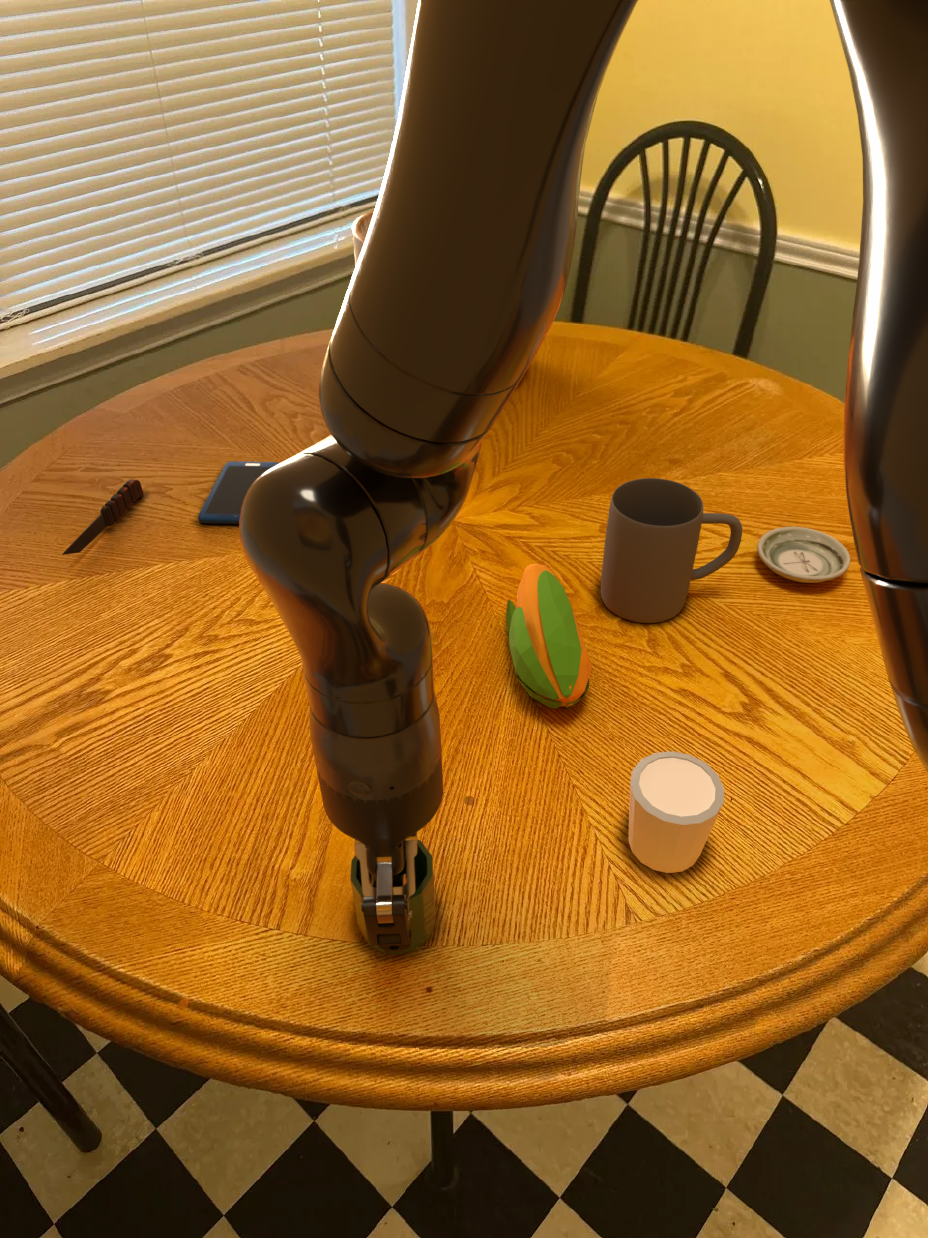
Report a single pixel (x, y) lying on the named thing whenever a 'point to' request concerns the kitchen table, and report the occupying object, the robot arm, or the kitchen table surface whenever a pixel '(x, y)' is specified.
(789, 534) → the saucer
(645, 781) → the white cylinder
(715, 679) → the kitchen table surface
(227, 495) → the cell phone
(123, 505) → the knife
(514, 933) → the kitchen table surface
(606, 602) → the mug
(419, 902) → the green faceted cup
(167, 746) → the kitchen table surface
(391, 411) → the robot arm
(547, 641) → the corn
